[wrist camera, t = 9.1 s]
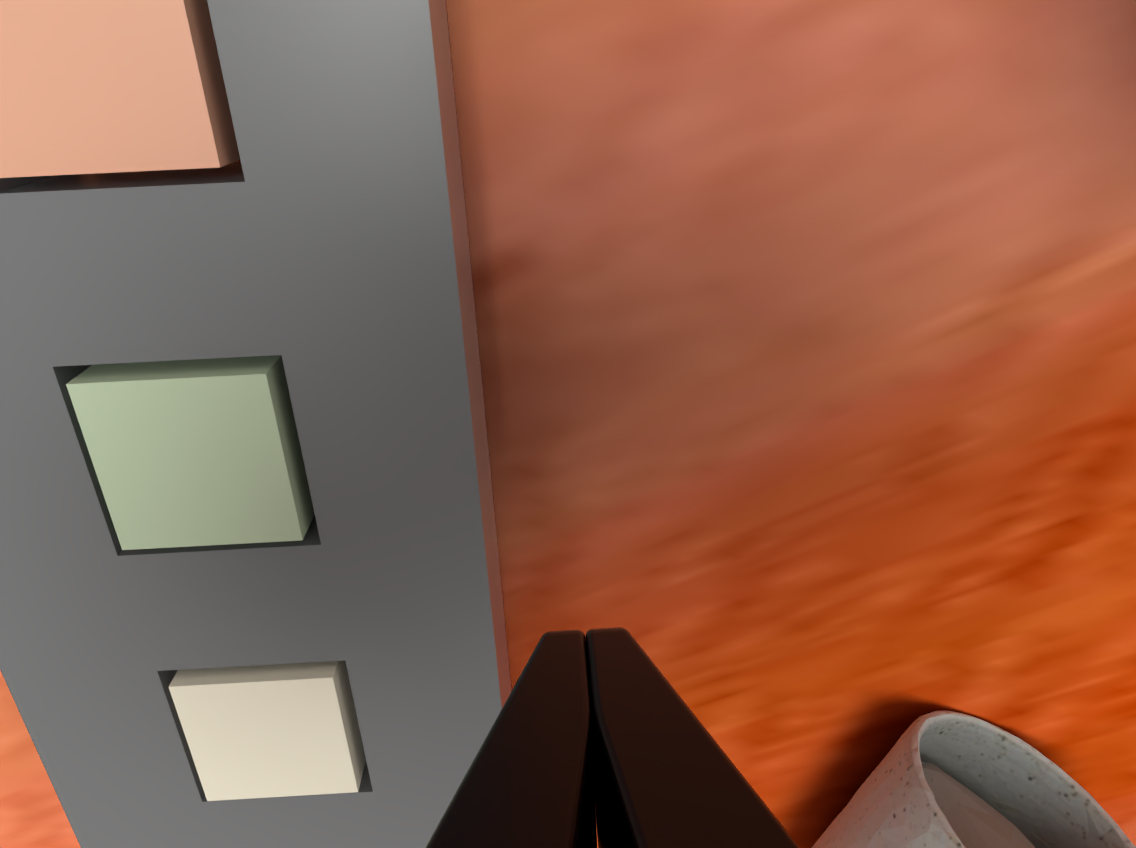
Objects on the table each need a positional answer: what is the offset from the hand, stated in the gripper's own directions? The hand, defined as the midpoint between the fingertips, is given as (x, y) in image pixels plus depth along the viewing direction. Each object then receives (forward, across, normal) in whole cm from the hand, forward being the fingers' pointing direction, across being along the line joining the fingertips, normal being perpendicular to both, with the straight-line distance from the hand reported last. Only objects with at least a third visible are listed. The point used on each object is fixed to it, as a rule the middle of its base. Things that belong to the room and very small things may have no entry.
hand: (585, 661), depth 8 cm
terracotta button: (+11, +8, -6) cm, 15 cm away
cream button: (+11, +8, +10) cm, 17 cm away
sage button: (+11, +8, +2) cm, 14 cm away
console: (+12, +8, +2) cm, 15 cm away
